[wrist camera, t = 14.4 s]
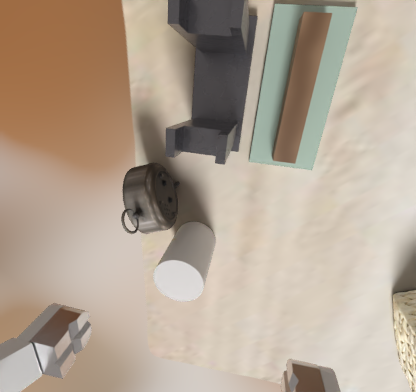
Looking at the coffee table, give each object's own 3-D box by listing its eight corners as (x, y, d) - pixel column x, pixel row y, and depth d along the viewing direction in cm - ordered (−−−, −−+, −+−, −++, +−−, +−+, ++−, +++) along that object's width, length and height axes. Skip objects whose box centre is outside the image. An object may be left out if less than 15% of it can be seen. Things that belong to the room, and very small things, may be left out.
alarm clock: (145, 159, 43) (88, 191, 28) (172, 152, 41) (127, 183, 27) (164, 212, 46) (122, 265, 32) (190, 208, 45) (158, 262, 30)
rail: (325, 21, 30) (332, 12, 27) (292, 158, 37) (295, 163, 34) (299, 19, 30) (303, 11, 27) (271, 156, 38) (273, 160, 35)
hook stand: (257, 18, 32) (259, -42, 18) (238, 150, 39) (229, 178, 25) (199, 15, 33) (160, -44, 19) (191, 144, 40) (158, 168, 26)
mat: (355, 9, 30) (357, 7, 29) (311, 168, 38) (312, 170, 37) (274, 5, 31) (275, 3, 30) (249, 160, 39) (249, 161, 39)
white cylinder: (172, 222, 47) (147, 260, 36) (212, 220, 45) (198, 259, 34) (180, 256, 50) (160, 301, 39) (218, 255, 48) (207, 302, 37)
